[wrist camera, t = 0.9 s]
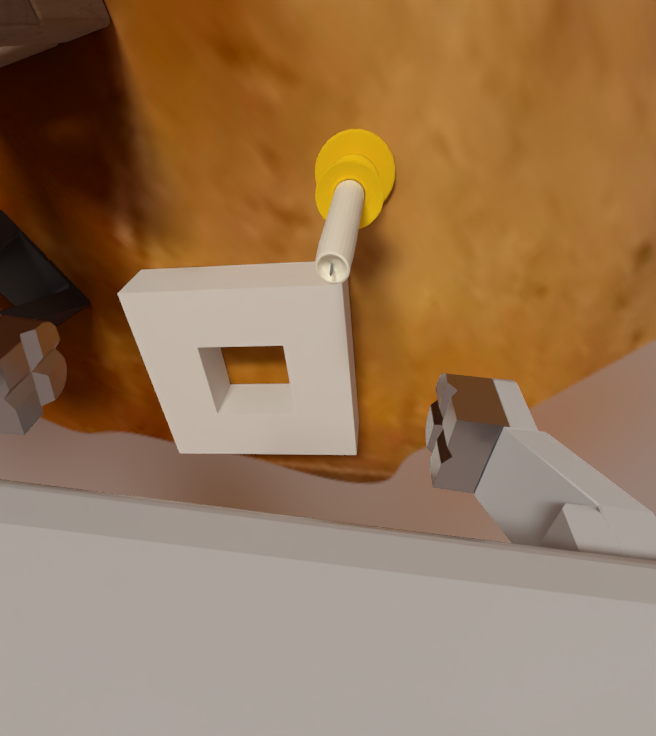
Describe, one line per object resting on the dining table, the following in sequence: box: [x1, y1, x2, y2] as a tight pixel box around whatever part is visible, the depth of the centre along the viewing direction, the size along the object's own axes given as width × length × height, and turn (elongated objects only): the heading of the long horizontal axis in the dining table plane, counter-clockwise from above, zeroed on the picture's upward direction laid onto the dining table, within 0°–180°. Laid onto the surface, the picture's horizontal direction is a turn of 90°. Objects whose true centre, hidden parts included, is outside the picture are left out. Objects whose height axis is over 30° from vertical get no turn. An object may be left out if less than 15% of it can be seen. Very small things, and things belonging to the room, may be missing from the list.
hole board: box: [117, 261, 359, 455], centre depth 39 cm, size 16×16×4 cm
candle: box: [315, 129, 395, 284], centre depth 25 cm, size 5×5×16 cm
